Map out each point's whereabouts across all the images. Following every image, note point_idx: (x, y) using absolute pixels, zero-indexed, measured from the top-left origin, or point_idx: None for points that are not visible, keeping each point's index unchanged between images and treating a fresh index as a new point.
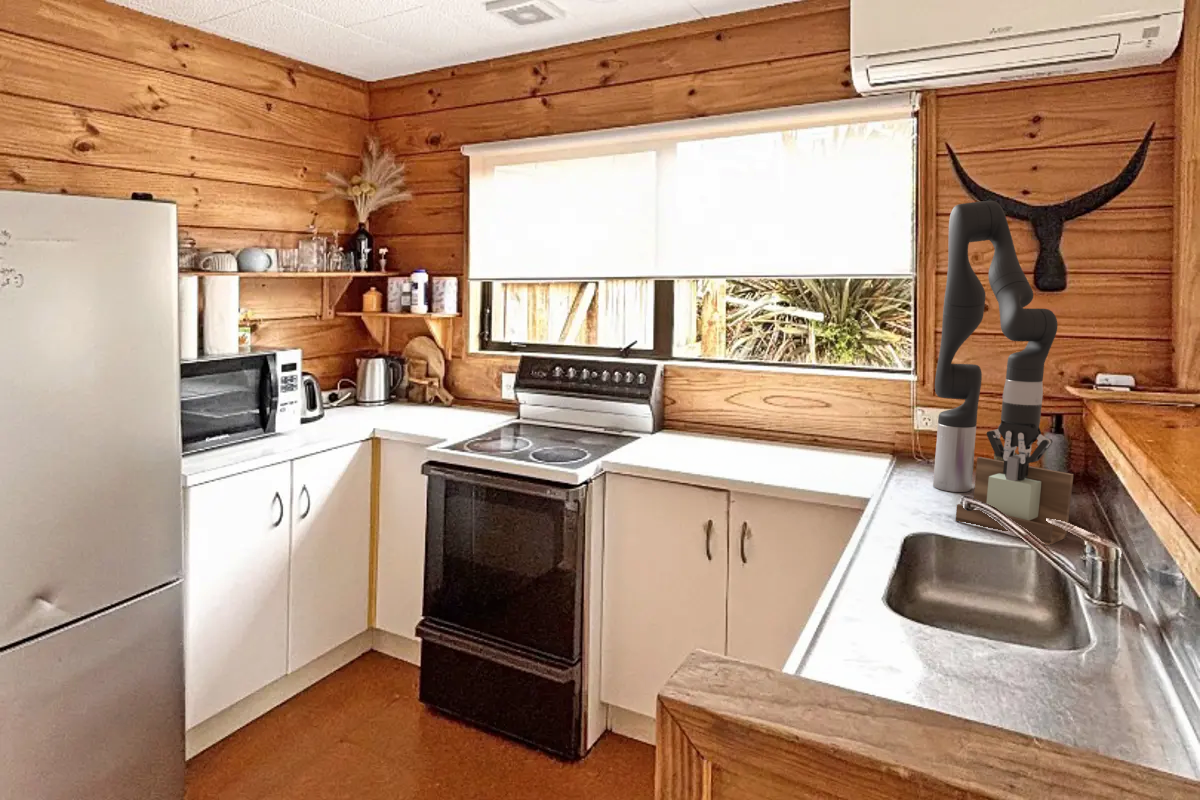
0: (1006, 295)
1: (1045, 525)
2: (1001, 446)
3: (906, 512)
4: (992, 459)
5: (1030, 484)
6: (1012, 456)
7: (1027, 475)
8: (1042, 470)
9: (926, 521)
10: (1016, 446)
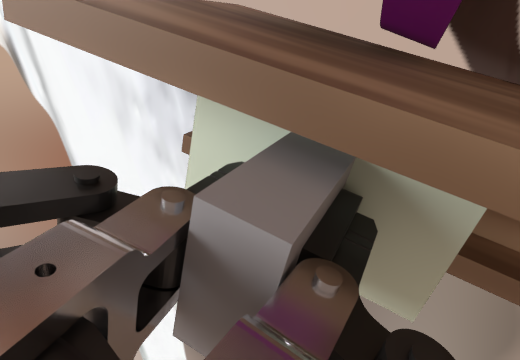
0: None
1: (499, 288)
2: (13, 220)
3: (108, 119)
4: (76, 15)
5: (408, 305)
6: (189, 294)
7: (375, 234)
8: (516, 218)
9: (165, 175)
10: (110, 272)
